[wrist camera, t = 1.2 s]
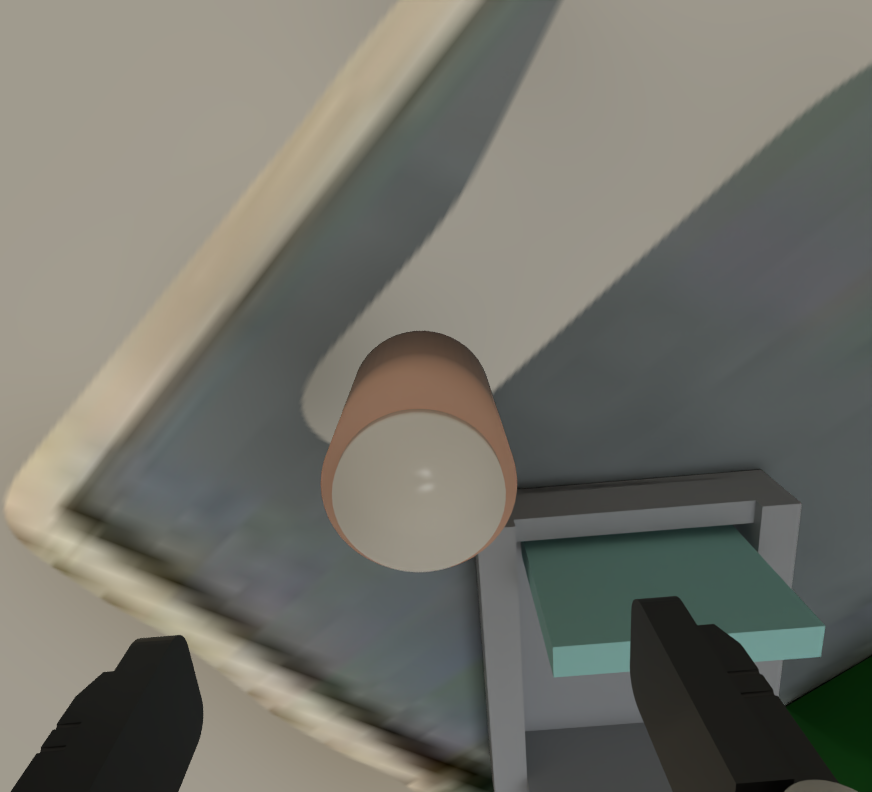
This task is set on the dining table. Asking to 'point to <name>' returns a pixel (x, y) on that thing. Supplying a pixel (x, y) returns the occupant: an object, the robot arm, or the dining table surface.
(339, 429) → the jar
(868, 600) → the dining table surface
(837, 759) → the milk carton
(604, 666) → the plate
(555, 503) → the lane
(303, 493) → the dining table surface
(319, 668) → the dining table surface
